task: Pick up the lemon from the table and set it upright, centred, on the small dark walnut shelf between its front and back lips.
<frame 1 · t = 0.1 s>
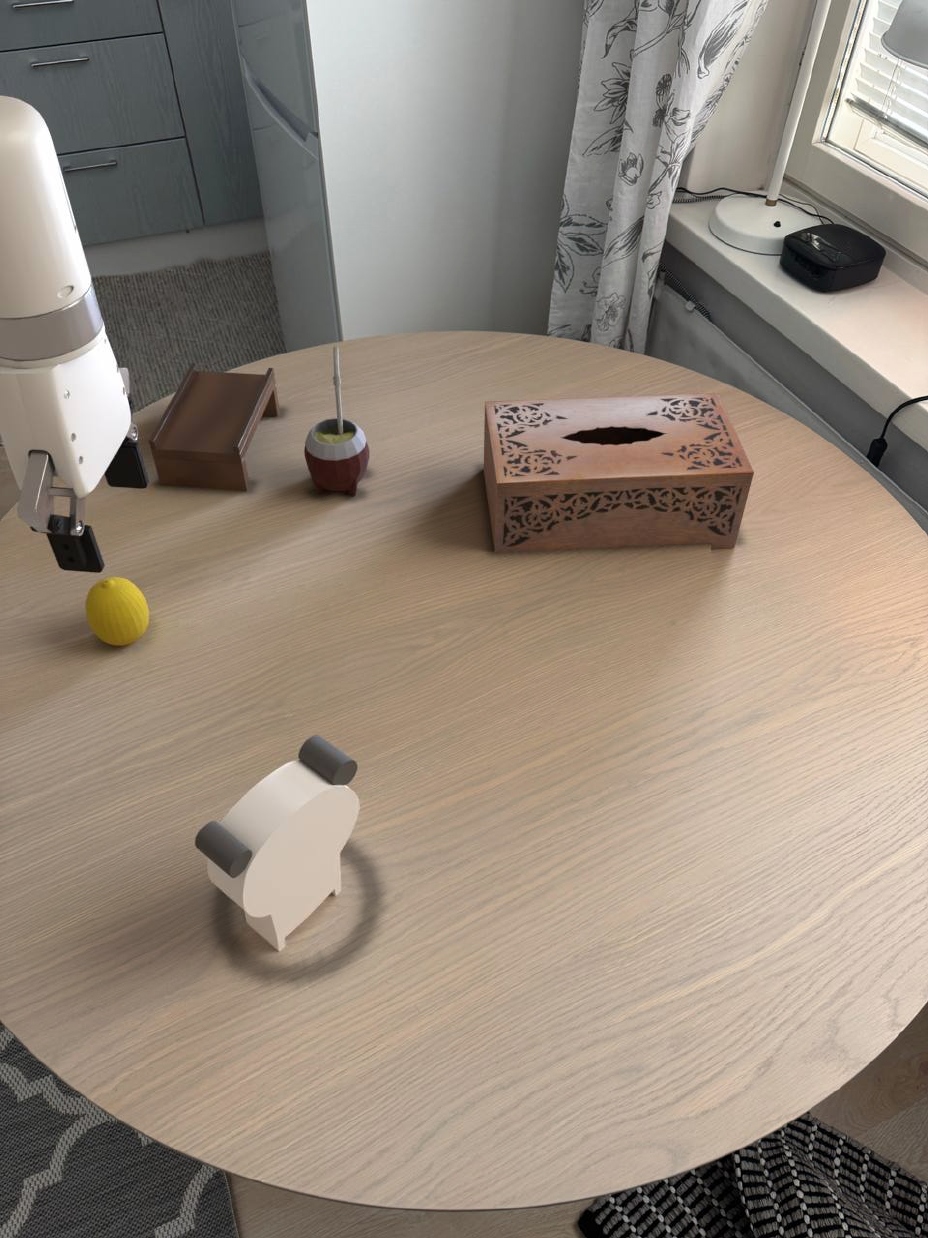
hand: (107, 525, 75), 22 cm above the table, tool pointing down, fingers open, 9 cm apart
tissue box cover: (603, 511, 111), on the table
shelf: (224, 452, 118), on the table
mate gourd: (340, 488, 114), on the table
lemon: (128, 642, 97), on the table
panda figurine: (302, 908, 77), on the table
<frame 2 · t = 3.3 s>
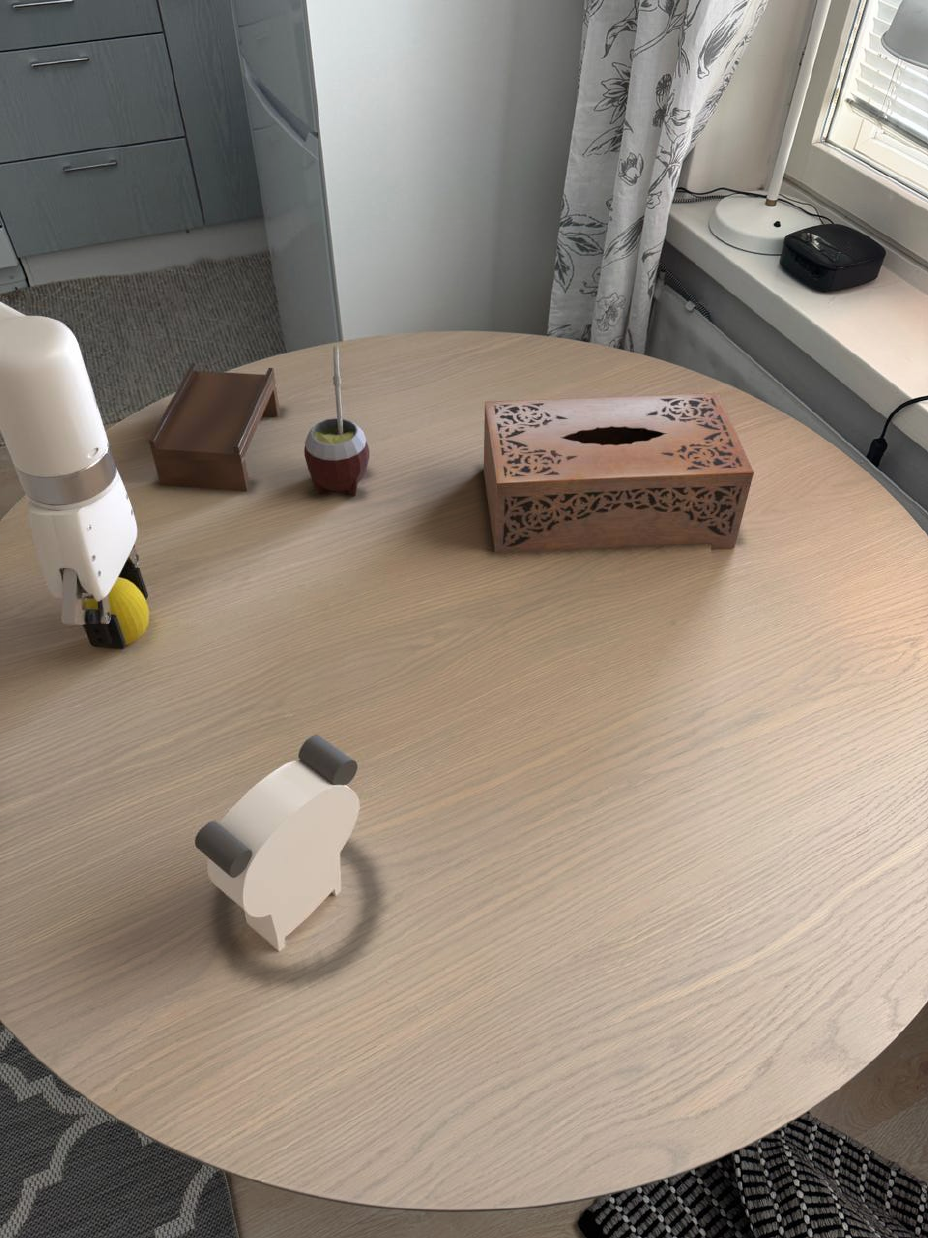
hand: (120, 620, 95), 3 cm above the table, tool pointing down, fingers closed on lemon, 5 cm apart
lemon: (128, 642, 97), on the table, touching gripper
everything else where it was.
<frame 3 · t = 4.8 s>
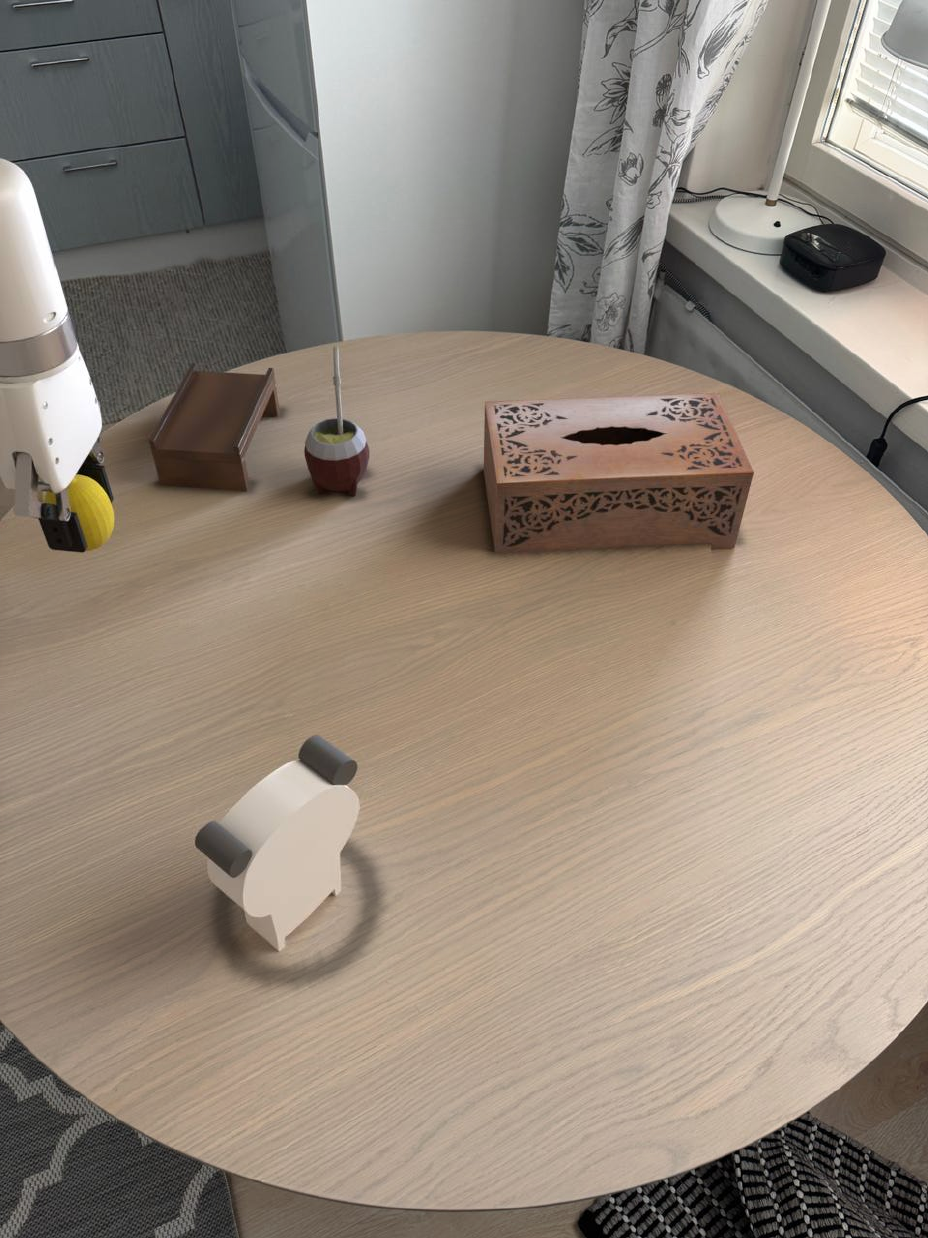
hand: (82, 523, 87), 15 cm above the table, tool pointing down, fingers closed on lemon, 5 cm apart
lemon: (91, 550, 89), point 11 cm above the table, touching gripper
everything else where it was.
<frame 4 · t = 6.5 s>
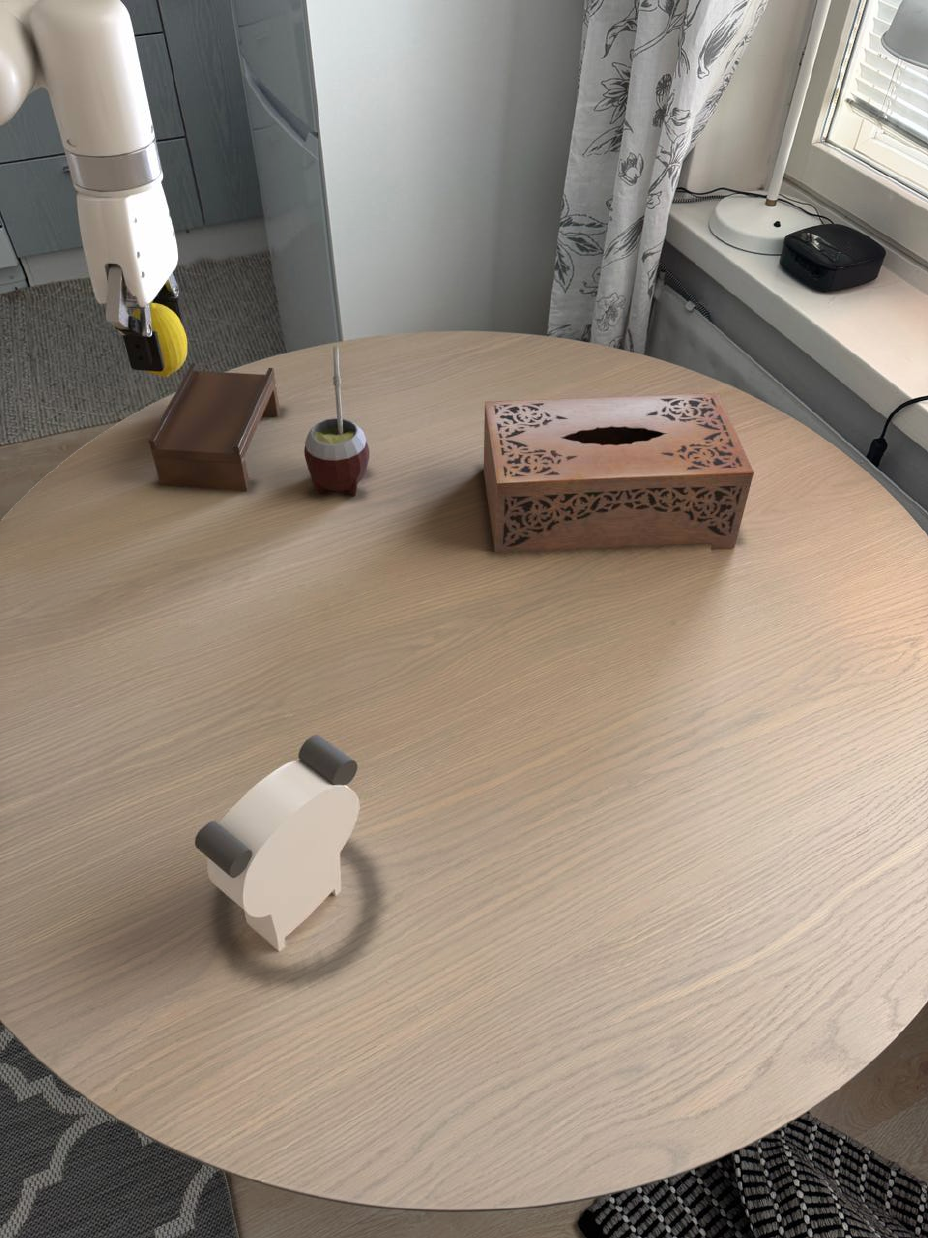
hand: (159, 350, 98), 19 cm above the table, tool pointing down, fingers closed on lemon, 5 cm apart
lemon: (166, 378, 100), point 16 cm above the table, touching gripper
everything else where it was.
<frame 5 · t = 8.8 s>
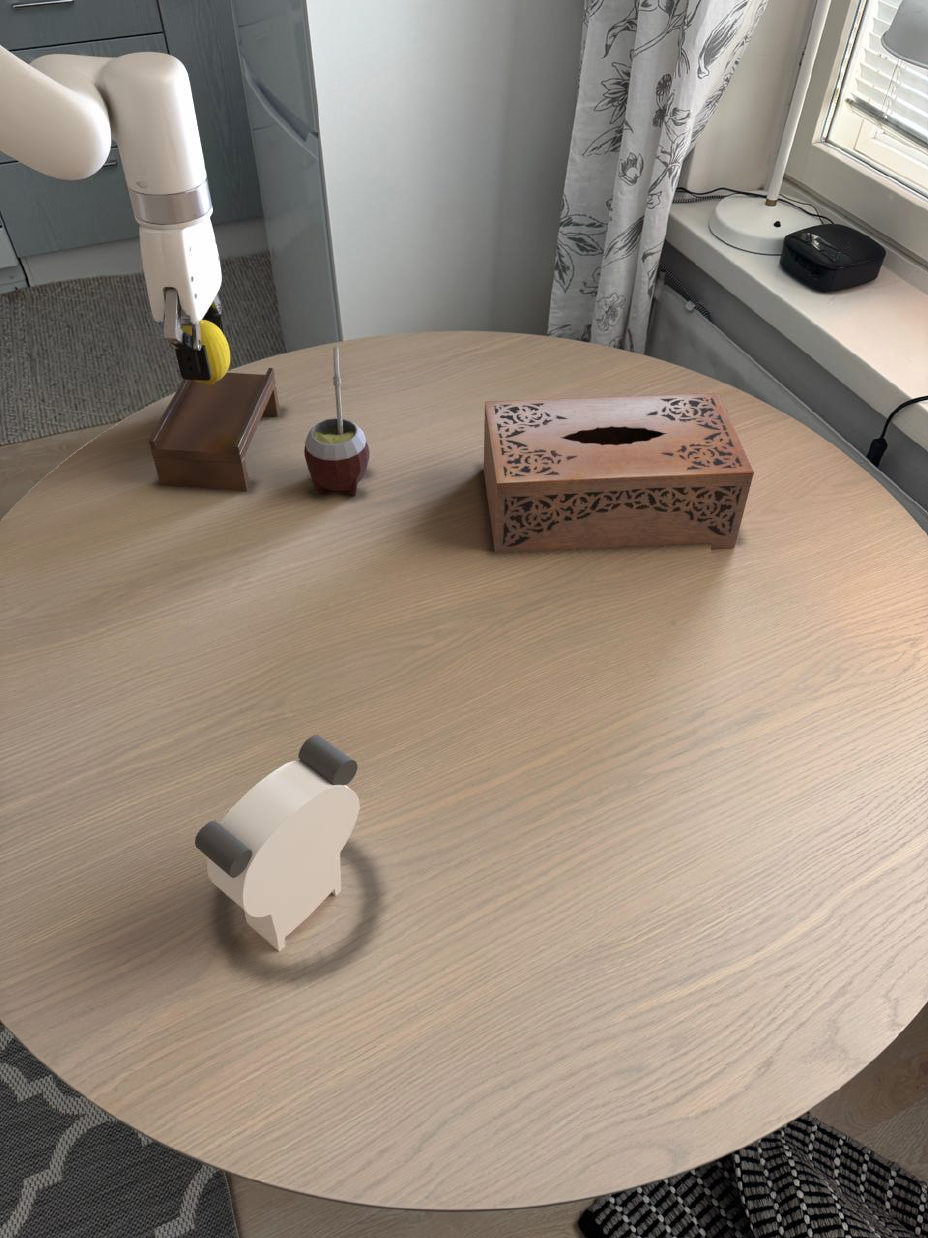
hand: (205, 361, 110), 12 cm above the table, tool pointing down, fingers closed on lemon, 5 cm apart
lemon: (210, 386, 112), point 9 cm above the table, touching gripper
everything else where it was.
when the fingers open (9 cm above the table, at t = 10.1 s): lemon stays where it is, resting on shelf.
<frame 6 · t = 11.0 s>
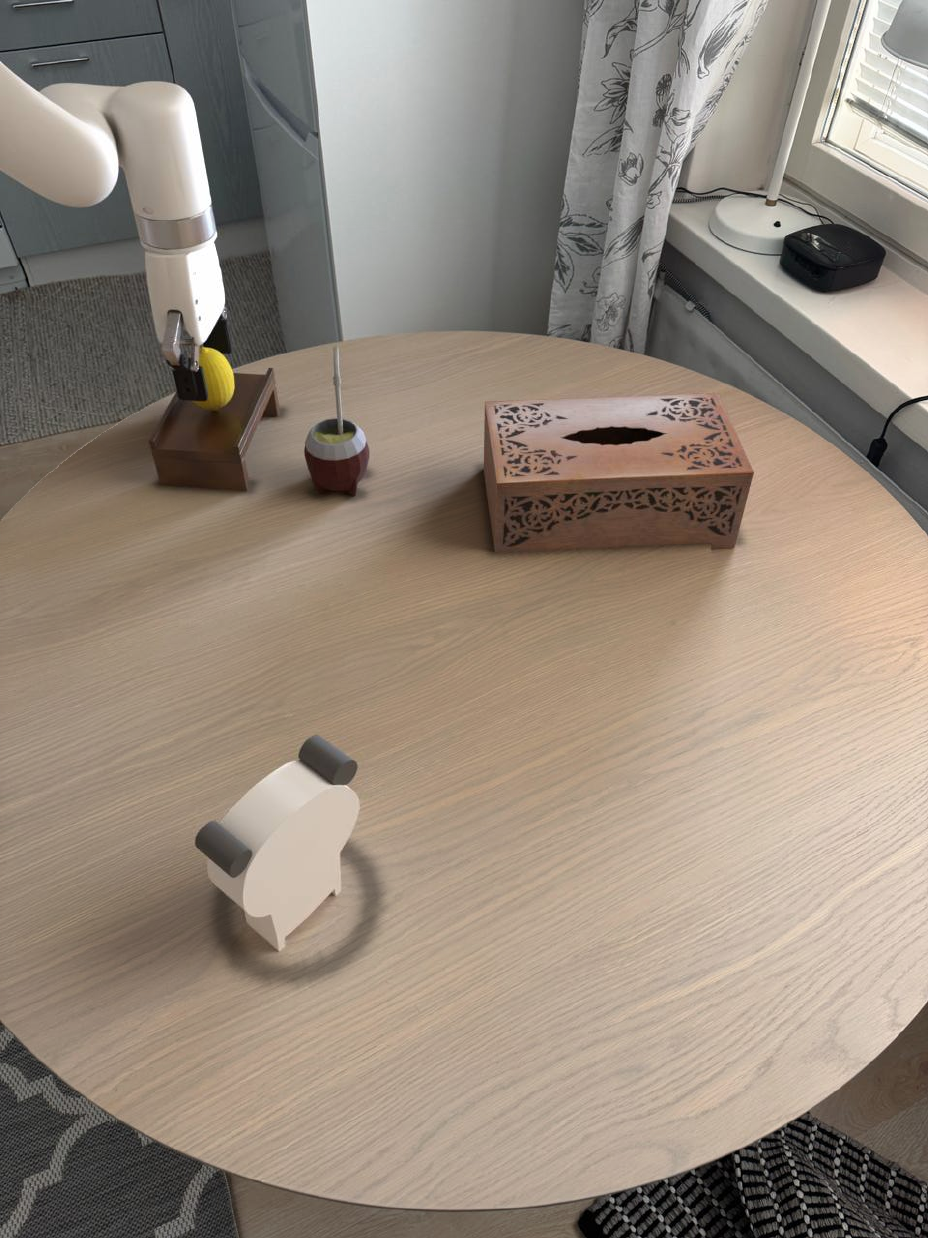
hand: (206, 374, 111), 11 cm above the table, tool pointing down, fingers open, 9 cm apart
lemon: (215, 411, 114), point 6 cm above the table, touching shelf
everything else where it was.
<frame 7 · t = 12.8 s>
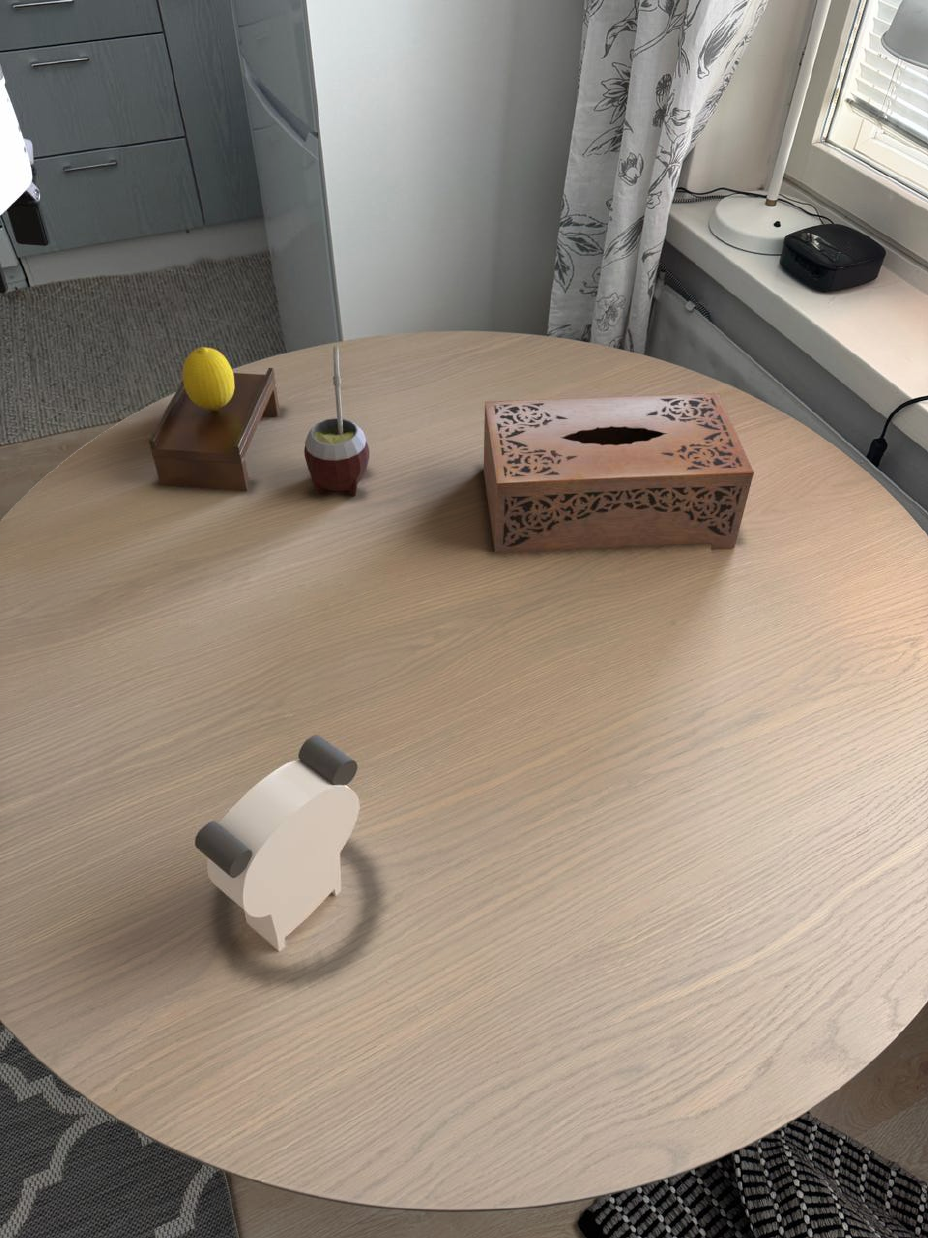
hand: (13, 266, 93), 27 cm above the table, tool pointing down, fingers open, 9 cm apart
nothing on the table moved.
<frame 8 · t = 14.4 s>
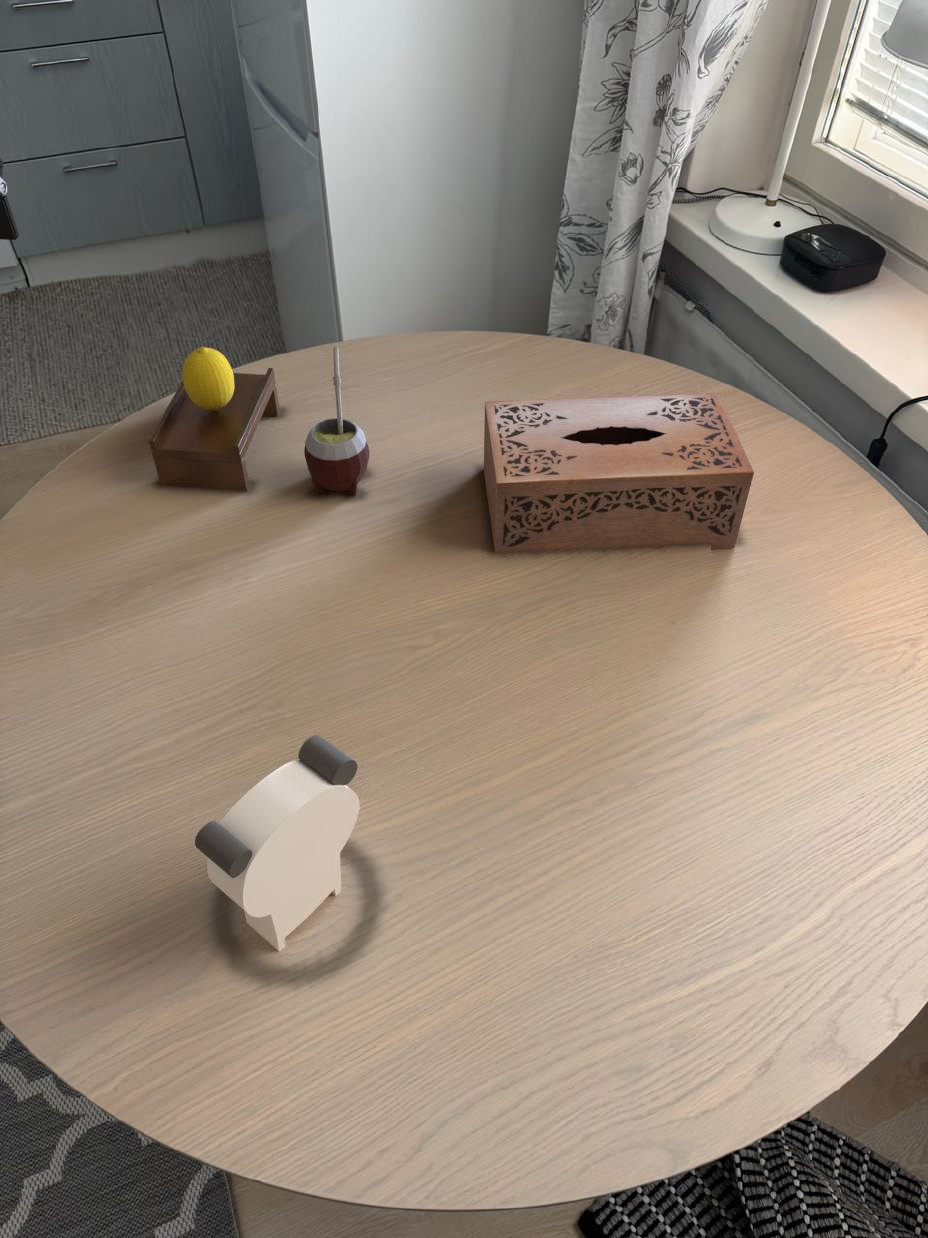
nothing on the table moved.
at the end: lemon inside the target area on the shelf (0.0 cm from its centre), point 5.8 cm above the shelf's base; lemon tilted 0°; the gripper is holding nothing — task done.
